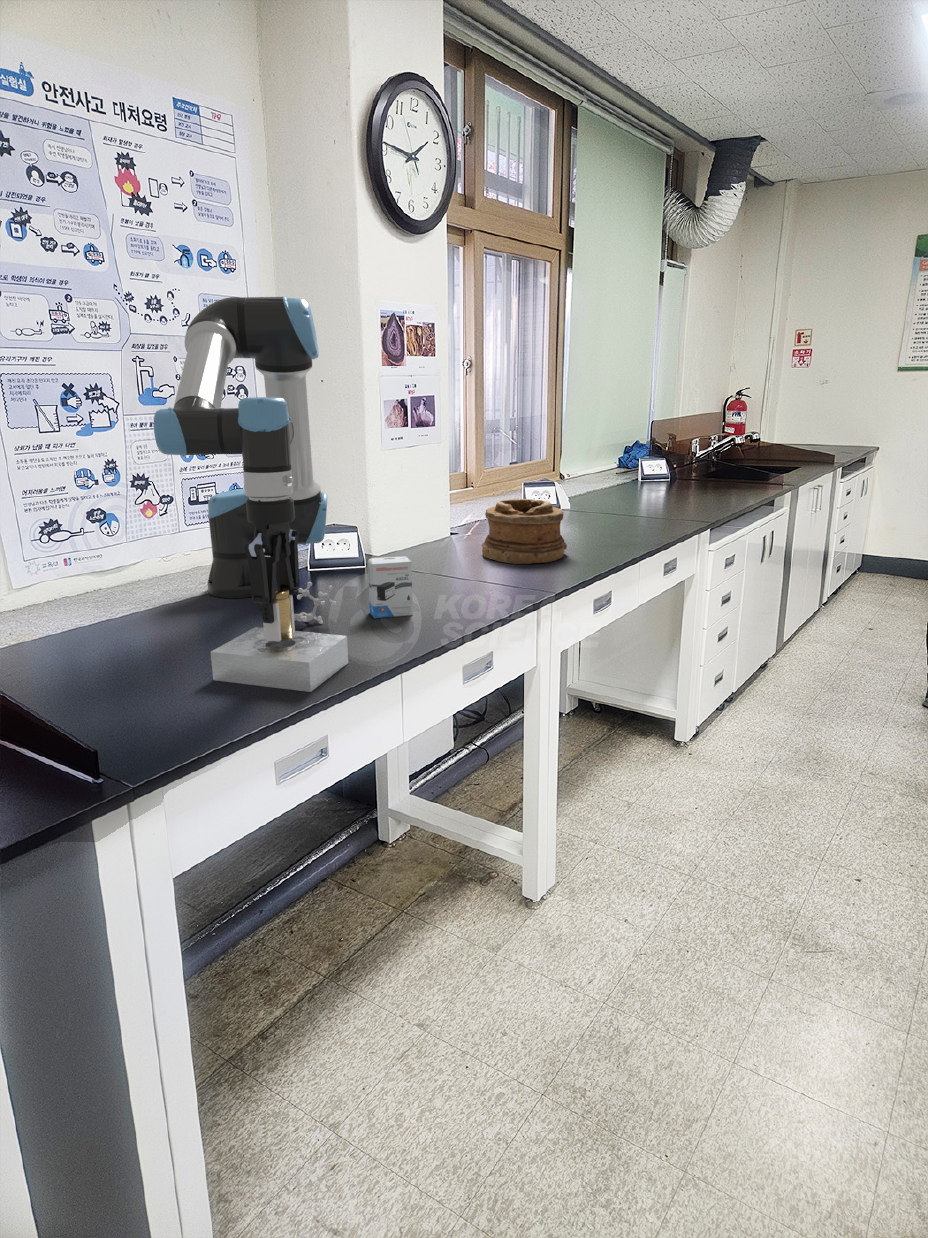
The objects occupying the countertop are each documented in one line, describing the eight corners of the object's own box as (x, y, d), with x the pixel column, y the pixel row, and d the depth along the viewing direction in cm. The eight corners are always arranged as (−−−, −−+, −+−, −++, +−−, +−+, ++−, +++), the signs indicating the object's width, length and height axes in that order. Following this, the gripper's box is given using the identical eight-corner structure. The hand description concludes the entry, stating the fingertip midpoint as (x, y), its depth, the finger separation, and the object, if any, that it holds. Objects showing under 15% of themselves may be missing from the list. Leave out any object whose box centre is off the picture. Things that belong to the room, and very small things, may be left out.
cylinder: (263, 640, 134) (259, 593, 132) (275, 632, 138) (272, 587, 135) (284, 642, 133) (281, 595, 131) (296, 634, 137) (293, 589, 134)
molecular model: (308, 616, 169) (309, 570, 166) (345, 626, 164) (347, 579, 161) (238, 637, 154) (237, 586, 151) (277, 649, 149) (277, 597, 146)
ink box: (373, 618, 166) (371, 563, 163) (369, 612, 171) (367, 558, 167) (413, 615, 168) (412, 560, 165) (408, 609, 173) (407, 555, 169)
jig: (213, 680, 133) (210, 651, 132) (257, 653, 146) (255, 626, 145) (311, 692, 128) (309, 662, 127) (348, 662, 141) (346, 635, 140)
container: (564, 566, 211) (566, 509, 206) (475, 563, 214) (475, 507, 210) (567, 548, 232) (569, 496, 228) (486, 546, 235) (486, 495, 231)
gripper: (262, 506, 120) (274, 654, 126) (315, 490, 135) (323, 623, 142) (218, 504, 122) (232, 649, 129) (275, 489, 137) (285, 619, 144)
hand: (280, 635), depth 135 cm, fingers closed on cylinder, 4 cm apart
